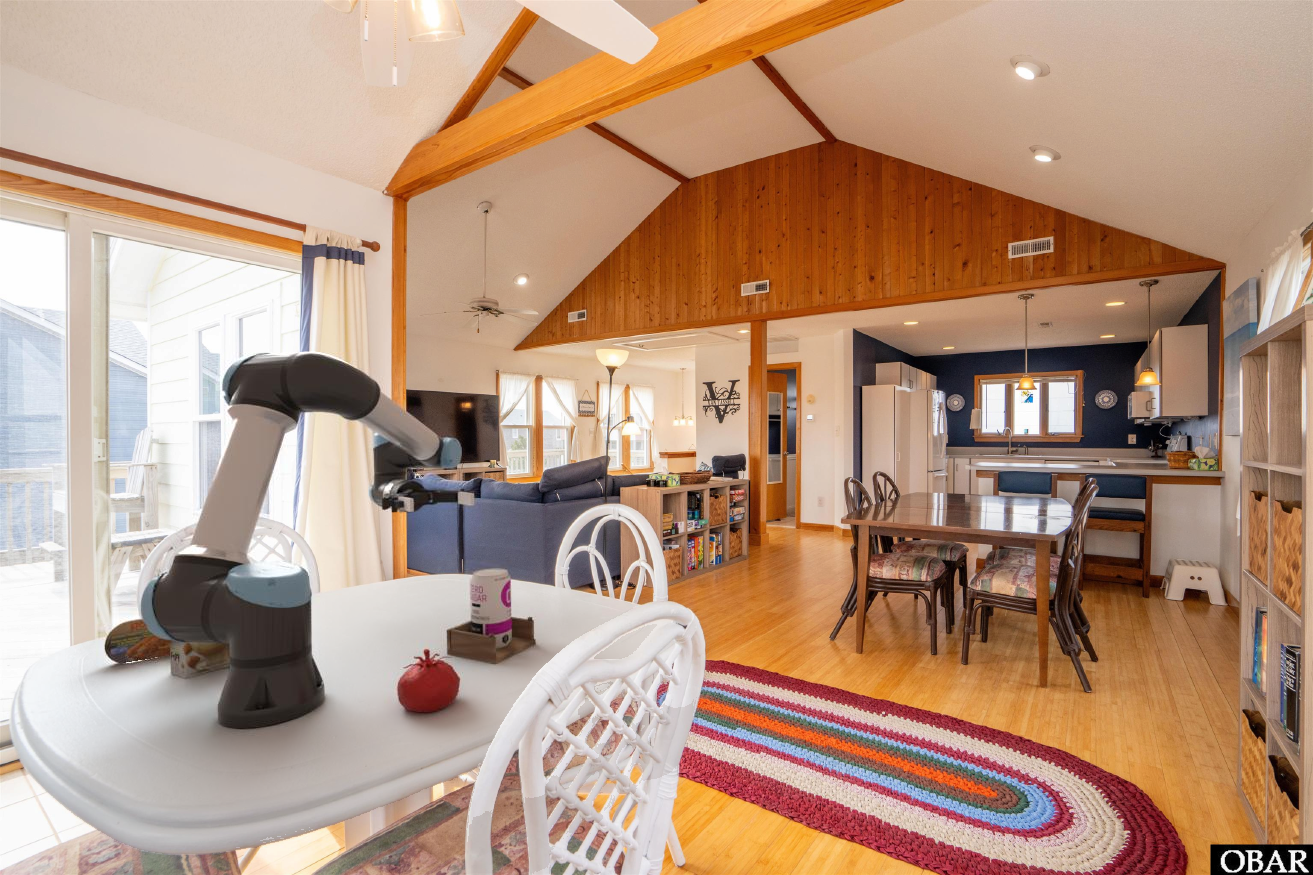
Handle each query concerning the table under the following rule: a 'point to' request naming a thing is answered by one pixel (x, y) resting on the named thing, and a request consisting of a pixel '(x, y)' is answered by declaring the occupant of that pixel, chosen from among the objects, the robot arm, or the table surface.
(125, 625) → the tin
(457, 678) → the red tomato
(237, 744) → the table surface
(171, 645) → the coffee box
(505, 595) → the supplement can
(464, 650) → the tray
